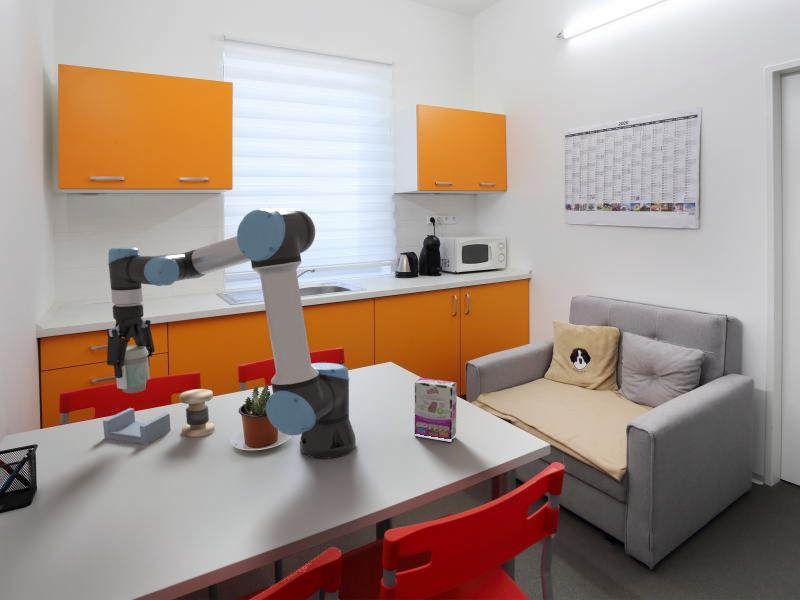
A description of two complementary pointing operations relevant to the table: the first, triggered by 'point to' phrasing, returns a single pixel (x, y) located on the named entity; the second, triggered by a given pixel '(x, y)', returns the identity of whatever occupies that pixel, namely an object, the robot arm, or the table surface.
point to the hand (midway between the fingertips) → (133, 383)
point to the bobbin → (197, 413)
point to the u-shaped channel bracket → (135, 427)
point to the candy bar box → (435, 408)
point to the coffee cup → (135, 368)
